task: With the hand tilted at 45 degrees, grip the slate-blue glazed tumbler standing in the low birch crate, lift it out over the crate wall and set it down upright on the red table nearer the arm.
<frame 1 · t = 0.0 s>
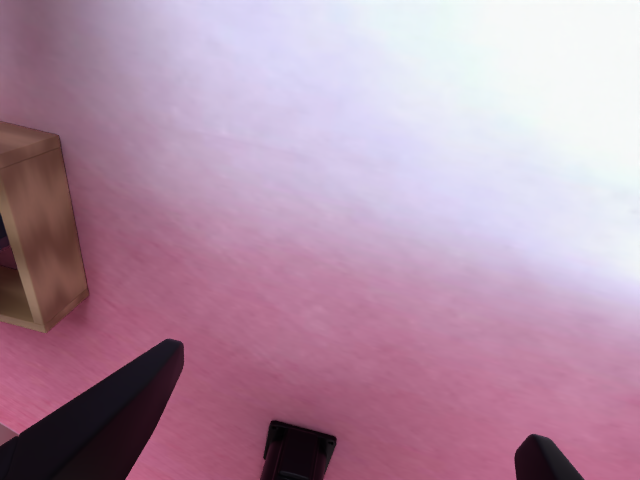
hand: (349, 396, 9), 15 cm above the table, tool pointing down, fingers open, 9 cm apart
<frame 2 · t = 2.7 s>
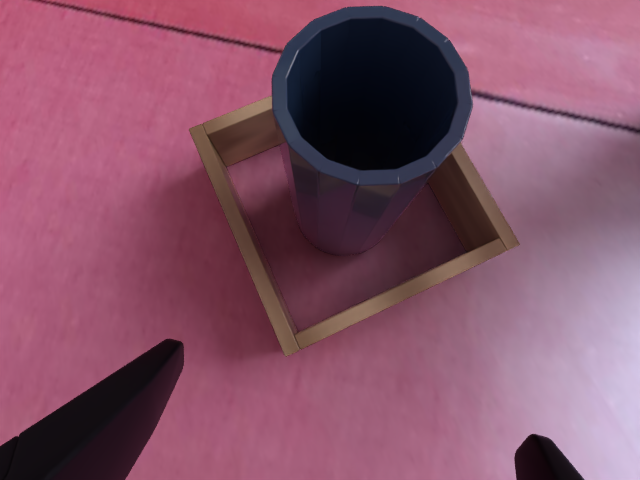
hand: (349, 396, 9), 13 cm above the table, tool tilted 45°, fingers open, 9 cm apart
tumbler: (352, 170, 18), in the crate
crate: (343, 208, 24), on the table
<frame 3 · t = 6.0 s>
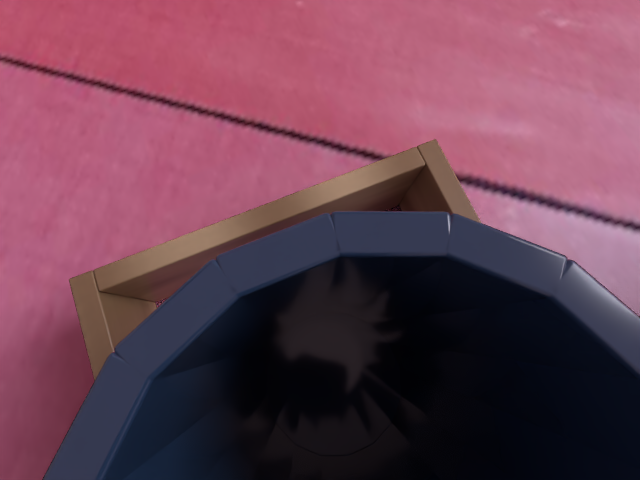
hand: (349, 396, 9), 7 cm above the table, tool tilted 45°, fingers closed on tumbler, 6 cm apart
tumbler: (345, 411, 9), in the crate, touching gripper
crate: (332, 379, 16), on the table
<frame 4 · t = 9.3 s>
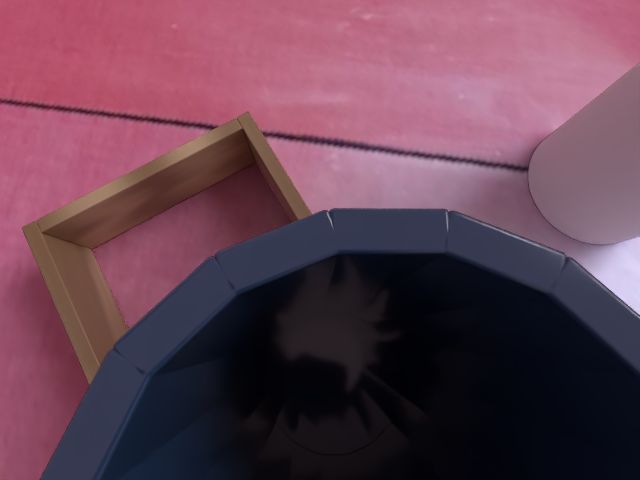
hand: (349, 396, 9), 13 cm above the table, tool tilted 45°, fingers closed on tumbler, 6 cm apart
container: (588, 184, 25), on the table
tumbler: (344, 409, 9), point 13 cm above the table, touching gripper
crate: (217, 282, 23), on the table
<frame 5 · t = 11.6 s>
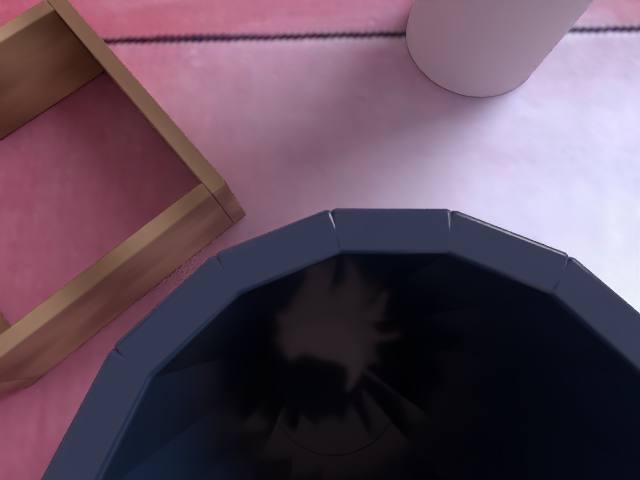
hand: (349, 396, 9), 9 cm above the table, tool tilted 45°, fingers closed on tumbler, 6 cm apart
container: (472, 39, 23), on the table
tumbler: (345, 410, 9), point 9 cm above the table, touching gripper
crate: (73, 202, 20), on the table
when the fingers open (7 cm above the table, at t = 13.0 s): tumbler stays where it is, on the table.
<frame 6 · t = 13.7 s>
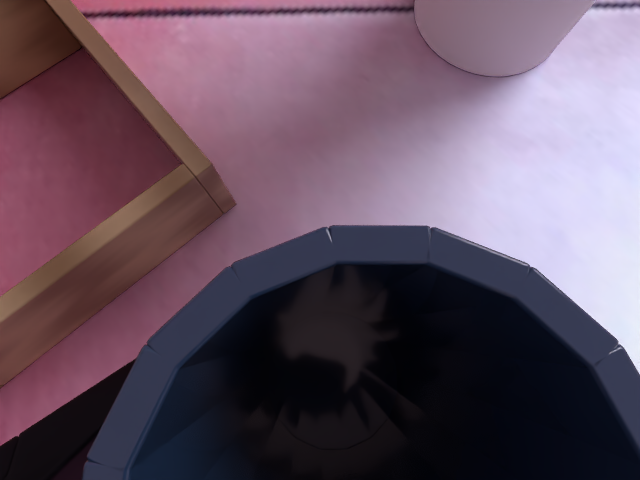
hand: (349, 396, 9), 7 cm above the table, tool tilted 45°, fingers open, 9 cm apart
container: (486, 15, 21), on the table
tumbler: (343, 404, 10), on the table
crate: (44, 190, 18), on the table
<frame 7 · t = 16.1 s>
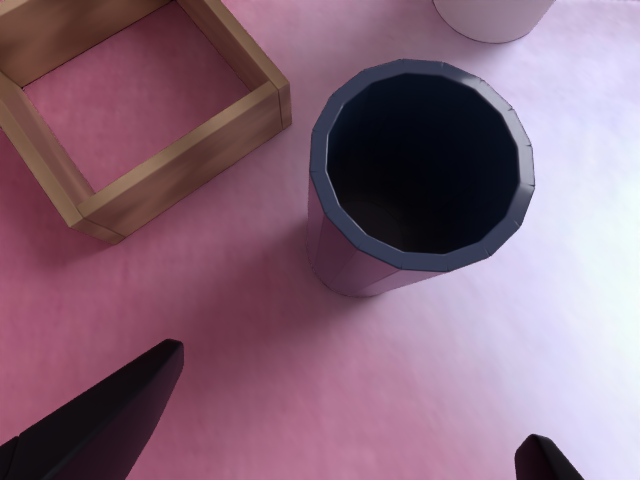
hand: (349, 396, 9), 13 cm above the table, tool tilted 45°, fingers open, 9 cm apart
tumbler: (378, 218, 17), on the table
crate: (149, 105, 24), on the table
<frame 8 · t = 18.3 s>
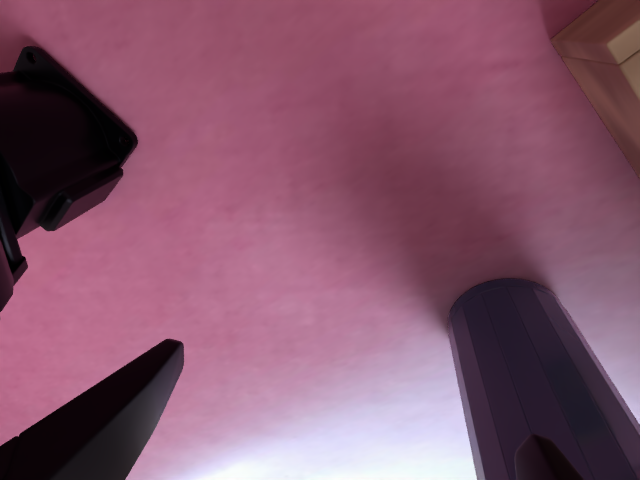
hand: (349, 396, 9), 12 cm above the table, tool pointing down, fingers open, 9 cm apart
tumbler: (542, 420, 16), on the table
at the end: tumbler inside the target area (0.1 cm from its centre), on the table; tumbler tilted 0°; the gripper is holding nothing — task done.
